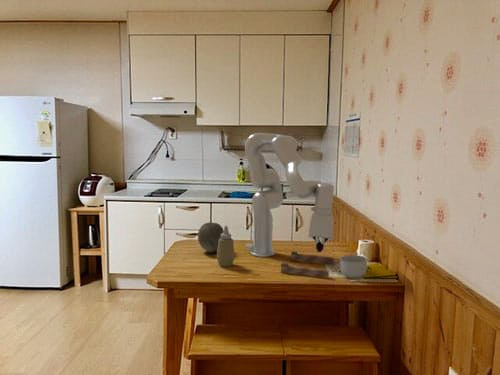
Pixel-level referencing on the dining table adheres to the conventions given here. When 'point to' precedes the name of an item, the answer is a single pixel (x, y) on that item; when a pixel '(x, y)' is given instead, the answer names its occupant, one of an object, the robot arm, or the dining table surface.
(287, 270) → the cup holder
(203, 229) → the cantaloupe
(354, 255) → the teacup
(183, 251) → the dining table surface
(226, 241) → the squeeze bottle
